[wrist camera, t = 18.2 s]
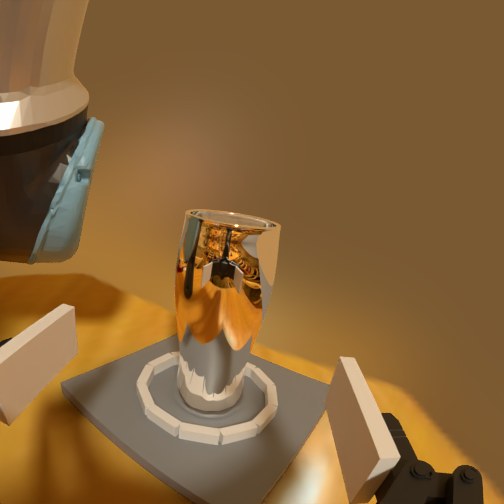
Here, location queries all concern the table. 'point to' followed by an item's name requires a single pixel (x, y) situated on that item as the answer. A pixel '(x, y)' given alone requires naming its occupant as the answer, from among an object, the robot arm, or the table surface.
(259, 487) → the coaster board
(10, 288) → the table surface
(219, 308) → the beer glass
